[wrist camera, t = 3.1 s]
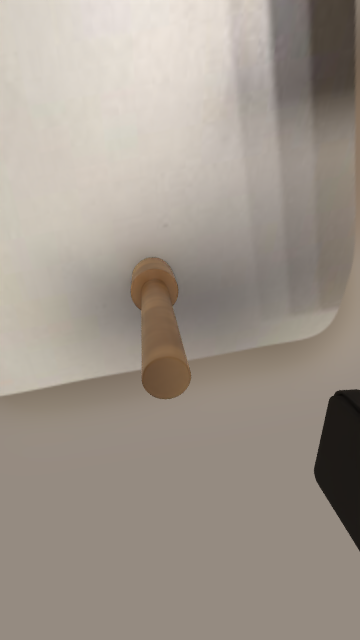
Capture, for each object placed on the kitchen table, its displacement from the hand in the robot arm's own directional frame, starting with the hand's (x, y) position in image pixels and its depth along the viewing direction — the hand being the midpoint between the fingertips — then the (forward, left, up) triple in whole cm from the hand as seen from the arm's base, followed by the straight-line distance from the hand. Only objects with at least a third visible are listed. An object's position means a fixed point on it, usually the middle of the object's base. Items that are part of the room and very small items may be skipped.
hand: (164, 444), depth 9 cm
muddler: (0, 0, -18) cm, 18 cm away
